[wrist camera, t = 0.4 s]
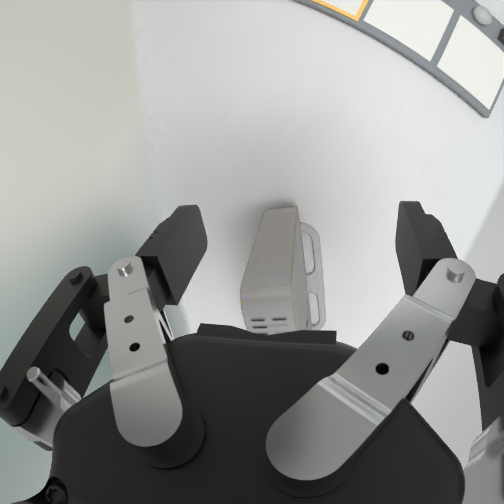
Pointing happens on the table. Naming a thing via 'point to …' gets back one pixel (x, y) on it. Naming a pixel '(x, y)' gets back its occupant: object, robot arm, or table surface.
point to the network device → (281, 277)
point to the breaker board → (435, 40)
